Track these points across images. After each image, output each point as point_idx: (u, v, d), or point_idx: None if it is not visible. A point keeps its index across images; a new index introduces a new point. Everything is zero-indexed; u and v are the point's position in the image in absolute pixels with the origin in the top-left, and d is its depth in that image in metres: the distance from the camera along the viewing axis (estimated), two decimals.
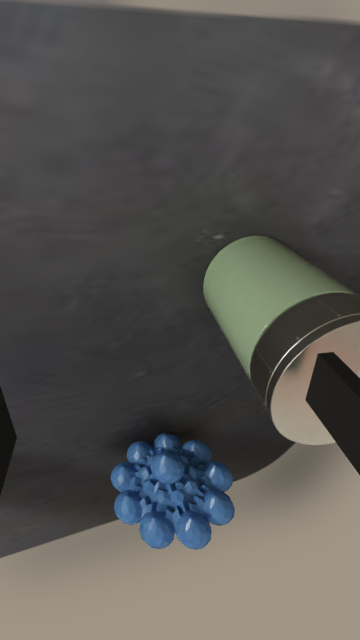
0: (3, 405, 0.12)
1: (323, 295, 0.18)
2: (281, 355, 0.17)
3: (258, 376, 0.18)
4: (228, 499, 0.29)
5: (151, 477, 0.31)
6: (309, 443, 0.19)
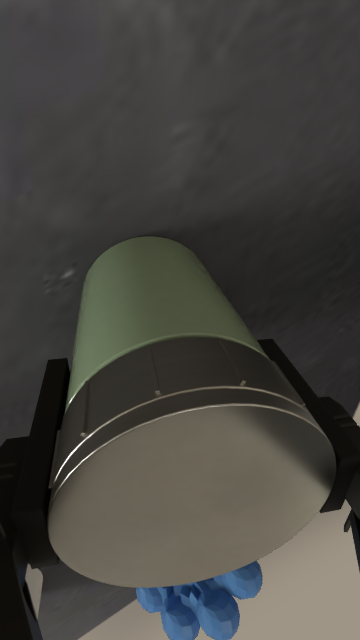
0: (68, 374, 0.14)
1: (97, 374, 0.10)
2: None
3: None
4: None
5: None
6: (219, 574, 0.12)
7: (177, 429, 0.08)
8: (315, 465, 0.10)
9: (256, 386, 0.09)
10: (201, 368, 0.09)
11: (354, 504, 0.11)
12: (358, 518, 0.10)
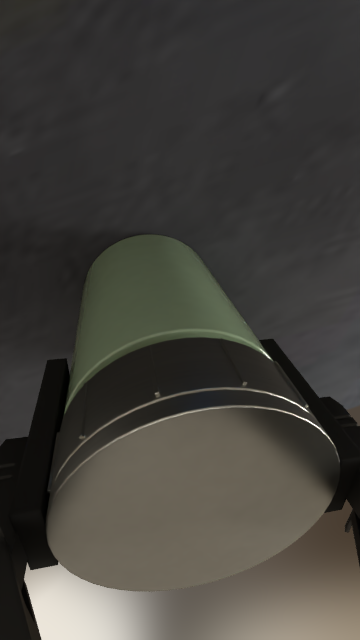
0: (68, 375, 0.14)
1: (97, 375, 0.10)
2: None
3: None
4: None
5: None
6: (221, 577, 0.12)
7: (177, 431, 0.08)
8: (318, 467, 0.09)
9: (258, 387, 0.09)
10: (201, 369, 0.09)
11: (355, 504, 0.11)
12: None
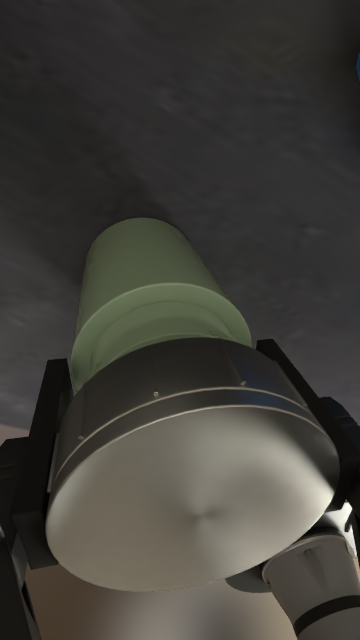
0: (68, 375, 0.14)
1: (96, 376, 0.10)
2: None
3: None
4: None
5: None
6: (221, 577, 0.12)
7: (176, 431, 0.08)
8: (318, 467, 0.09)
9: (256, 387, 0.09)
10: (201, 368, 0.09)
11: (355, 504, 0.11)
12: (359, 518, 0.10)
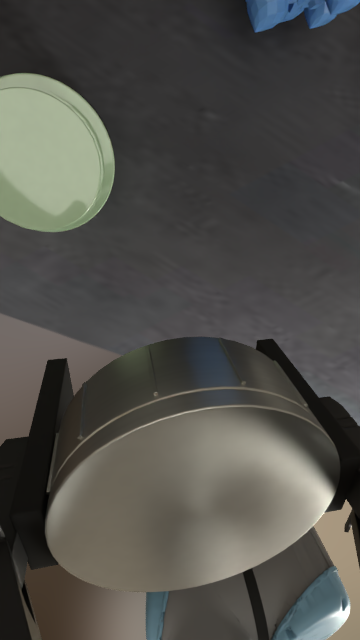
0: (68, 375, 0.14)
1: (95, 375, 0.10)
2: None
3: None
4: None
5: (293, 0, 0.22)
6: (222, 577, 0.12)
7: (176, 431, 0.08)
8: (318, 467, 0.09)
9: (257, 386, 0.08)
10: (200, 368, 0.09)
11: (355, 504, 0.11)
12: (359, 518, 0.10)
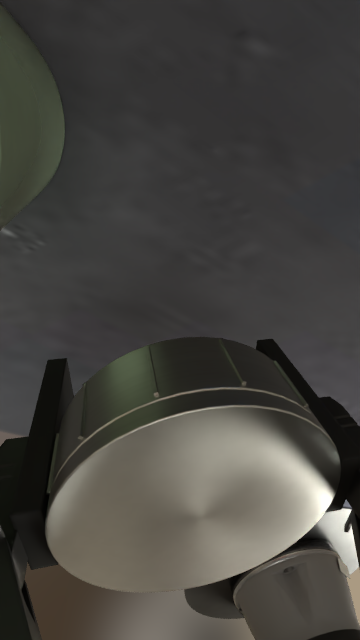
0: (68, 375, 0.14)
1: (96, 376, 0.10)
2: None
3: None
4: None
5: None
6: (222, 578, 0.12)
7: (176, 432, 0.08)
8: (319, 467, 0.09)
9: (257, 387, 0.08)
10: (201, 369, 0.09)
11: (355, 504, 0.11)
12: (359, 518, 0.10)
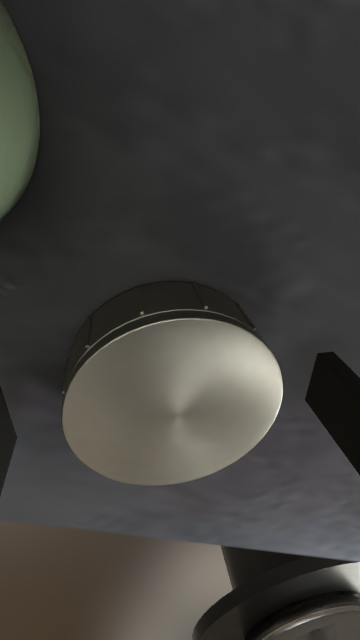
0: (3, 405, 0.12)
1: (98, 311, 0.13)
2: None
3: None
4: None
5: None
6: (197, 476, 0.15)
7: (155, 337, 0.11)
8: (265, 376, 0.13)
9: (216, 311, 0.12)
10: (175, 299, 0.12)
11: None
12: None
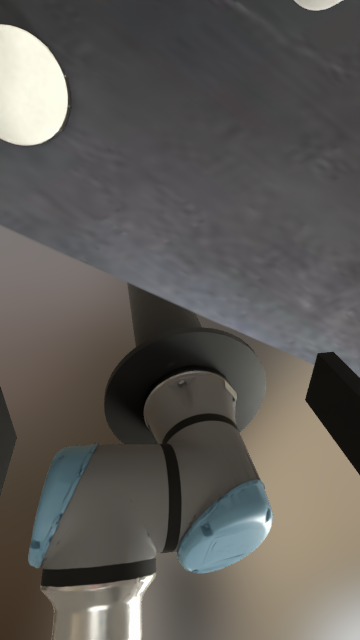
0: (2, 405, 0.12)
1: None
2: None
3: None
4: None
5: None
6: (36, 142, 0.30)
7: None
8: (53, 70, 0.28)
9: None
10: None
11: None
12: None
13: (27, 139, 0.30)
